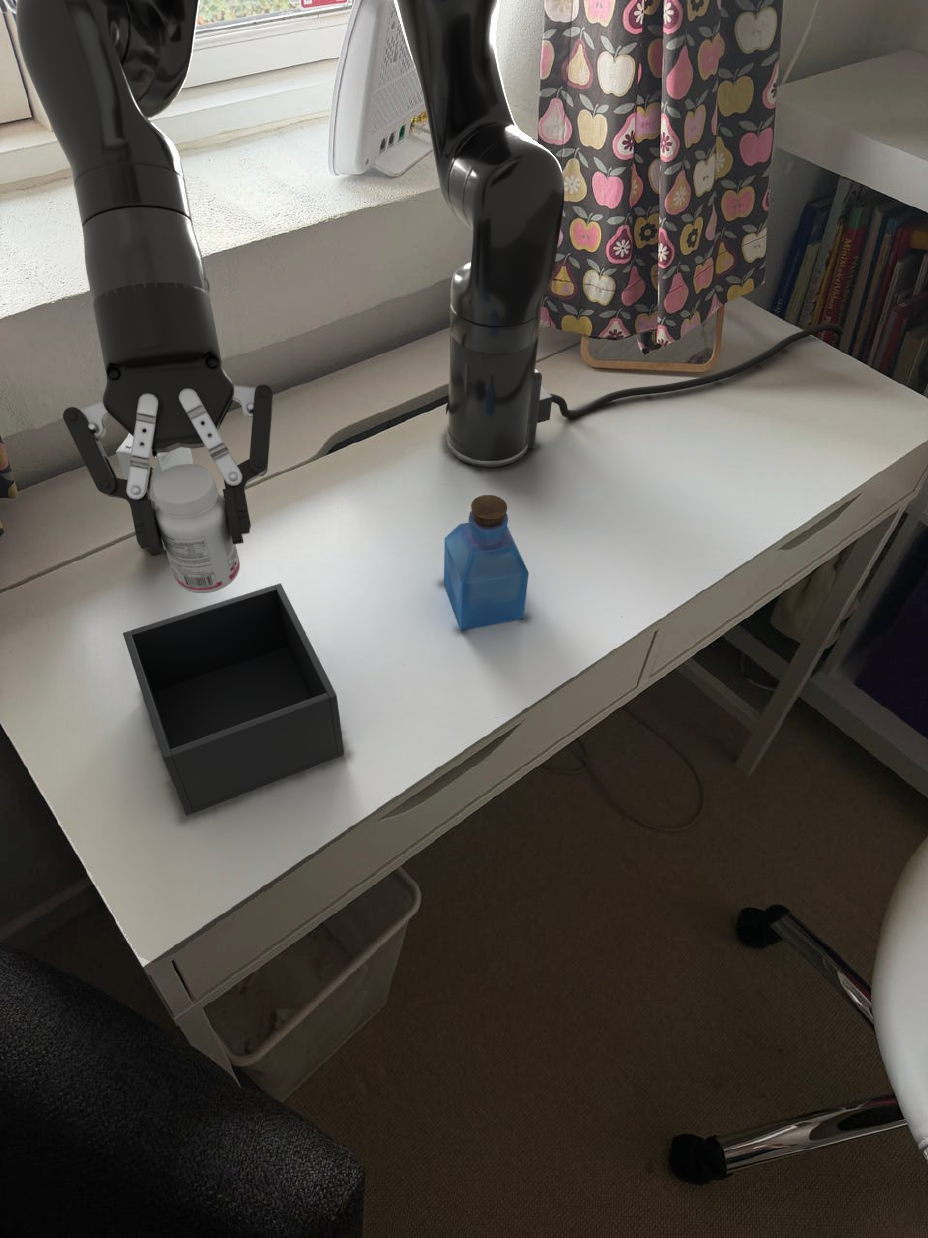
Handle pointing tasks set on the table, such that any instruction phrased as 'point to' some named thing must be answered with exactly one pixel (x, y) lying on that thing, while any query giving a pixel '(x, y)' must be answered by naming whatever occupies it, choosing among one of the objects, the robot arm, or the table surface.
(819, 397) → the table surface
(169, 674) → the open box
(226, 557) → the pill bottle
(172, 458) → the cosmetic box
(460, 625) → the perfume bottle
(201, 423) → the robot arm
